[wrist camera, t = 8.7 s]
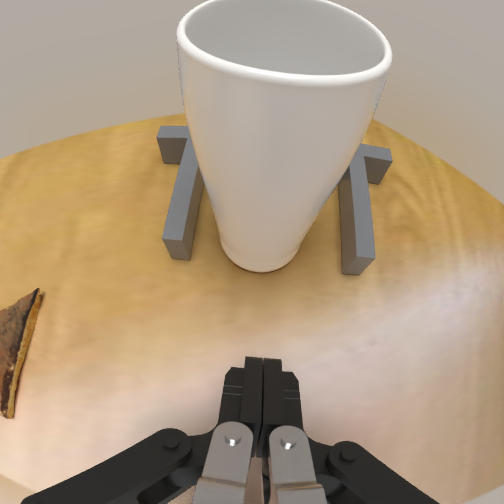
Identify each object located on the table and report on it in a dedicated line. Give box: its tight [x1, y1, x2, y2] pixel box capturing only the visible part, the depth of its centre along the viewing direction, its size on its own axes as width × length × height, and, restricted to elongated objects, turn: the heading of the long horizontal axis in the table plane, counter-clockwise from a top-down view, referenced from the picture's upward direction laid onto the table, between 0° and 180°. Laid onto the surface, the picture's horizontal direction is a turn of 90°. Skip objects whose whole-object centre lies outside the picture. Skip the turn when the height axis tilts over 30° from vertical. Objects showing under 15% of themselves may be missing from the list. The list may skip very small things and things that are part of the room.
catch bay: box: [157, 126, 393, 275], centre depth 21 cm, size 17×9×3 cm, turn 85°
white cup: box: [176, 0, 393, 272], centre depth 14 cm, size 7×7×15 cm
